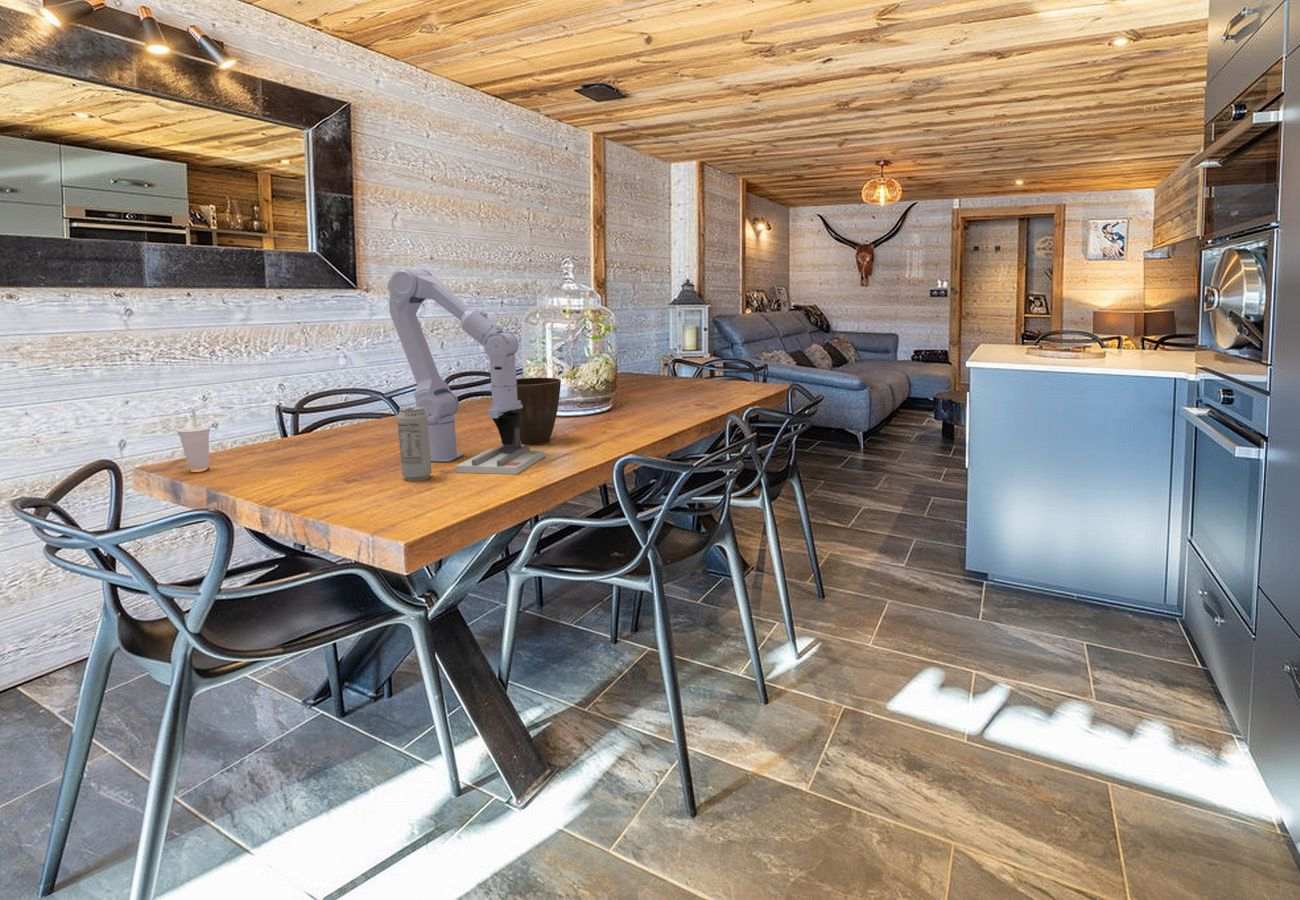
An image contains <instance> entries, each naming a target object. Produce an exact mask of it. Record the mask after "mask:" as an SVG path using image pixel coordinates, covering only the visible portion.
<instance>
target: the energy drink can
mask: <svg viewBox="0 0 1300 900" xmlns="http://www.w3.org/2000/svg"><path fill="white" fill-rule="evenodd" d="M398 411H399V412H398V415H397V416H396V421H397V431H398V432H397V433H398V434H397V435H398V441H399V443H398V444H399V452H400V453H399V454H400V465H401V475H402V477H404V479H405V481H408V482H418V481H419V482H420V481H425V480H427V479H430V476H431V474H432V461H431V458H430V446H429V433H428V421H427V415H426V413H425V412H424V410H423V407H416V406H406V407H401V408H399V409H398Z"/></svg>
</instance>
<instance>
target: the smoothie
mask: <svg viewBox="0 0 1300 900" xmlns="http://www.w3.org/2000/svg"><path fill="white" fill-rule="evenodd" d="M191 414H192V421H193V426H192V427H189V426H188V427H183V428H179V429H177V431H176V432H177V436H179V439H180V443H181V446H182V448H183V452H184V455H185V459H186V462H187V466H188V469H202V468H207V467H209V468H210V432H211V430H210V427H209V426H198V425H197V424H198V423H197V418H196V417H197V416H196V410H195V409H191Z"/></svg>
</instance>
